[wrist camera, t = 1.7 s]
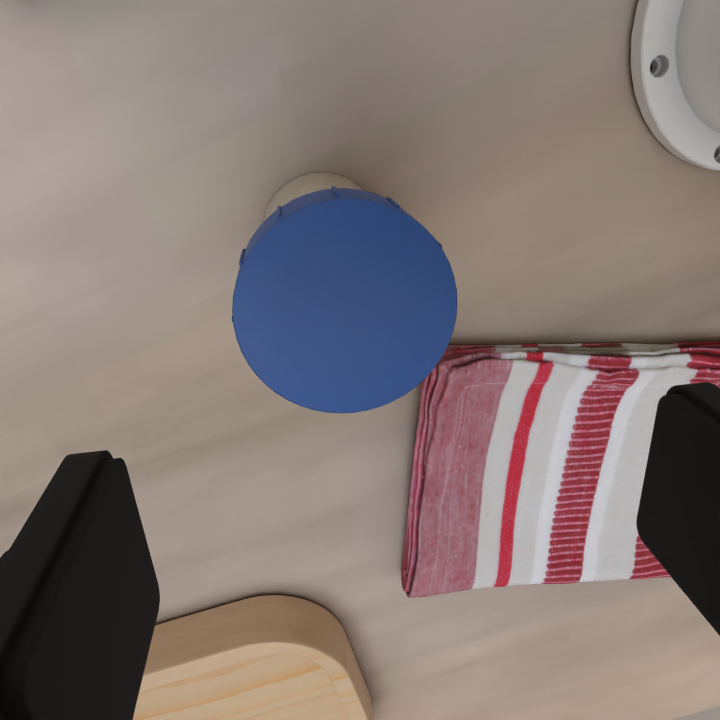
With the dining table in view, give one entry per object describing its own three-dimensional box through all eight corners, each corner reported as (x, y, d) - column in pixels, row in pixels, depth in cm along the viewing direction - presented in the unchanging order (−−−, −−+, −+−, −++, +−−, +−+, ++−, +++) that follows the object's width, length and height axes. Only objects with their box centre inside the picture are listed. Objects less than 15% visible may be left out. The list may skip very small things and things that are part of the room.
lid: (251, 168, 17) (248, 176, 15) (462, 210, 19) (484, 223, 17) (226, 369, 20) (219, 400, 18) (412, 394, 21) (426, 424, 19)
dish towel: (417, 341, 31) (428, 361, 28) (807, 335, 34) (847, 353, 31) (397, 579, 38) (405, 612, 35) (722, 557, 41) (750, 585, 38)
